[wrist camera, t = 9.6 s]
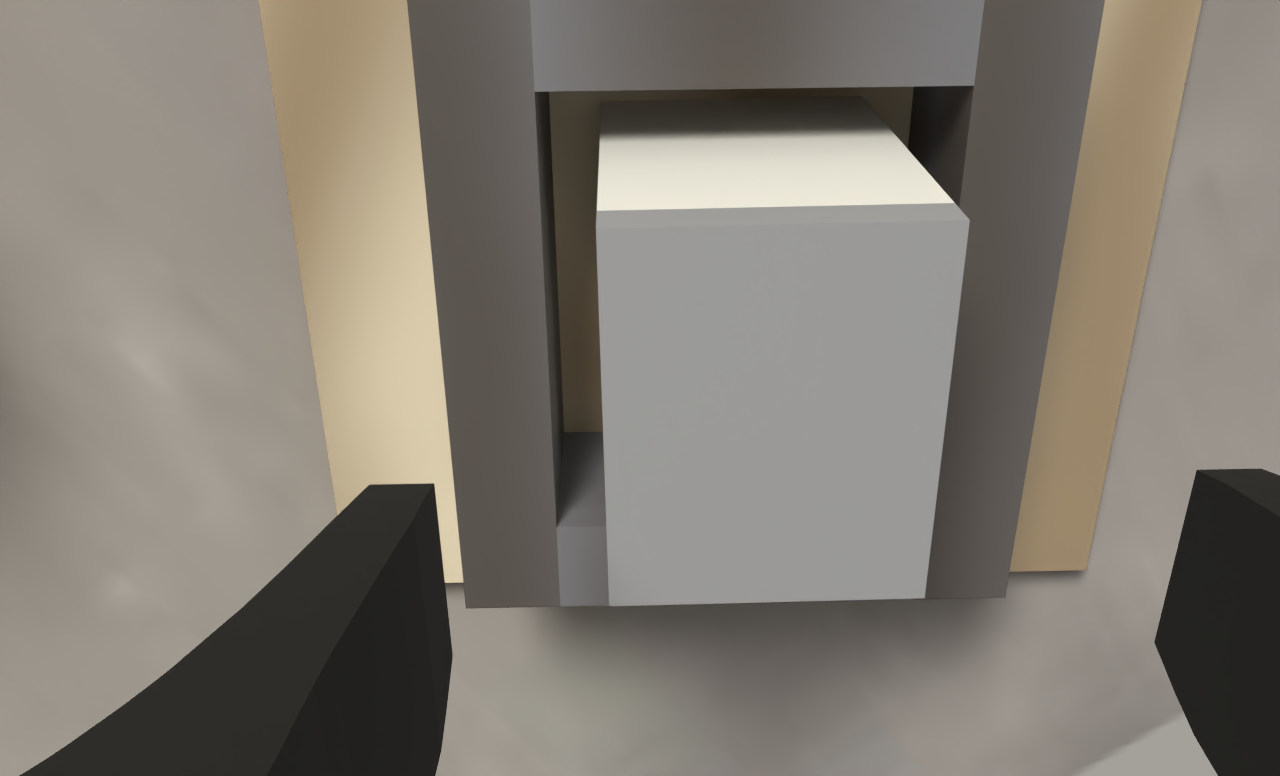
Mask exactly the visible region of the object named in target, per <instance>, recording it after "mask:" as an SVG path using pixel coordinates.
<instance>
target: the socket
mask: <svg viewBox="0 0 1280 776" xmlns="http://www.w3.org/2000/svg"><path fill="white" fill-rule="evenodd" d="M1201 3H1202V0H259V7H260V13H261V20H262V26H263V33H264V39H265V46H266V52H267V59H268V65H269V72H270V78H271V85H272V92H273V98H274V105H275V111H276V118H277V124H278V131H279V137H280V144H281V150H282V157H283V163H284V170H285V176H286V183H287V189H288V196H289V203H290V209H291V216H292V222H293V229H294V235H295V242H296V248H297V255H298V261H299V268H300V274H301V281H302V287H303V294H304V300H305V307H306V314H307V320H308V327H309V333H310V340H311V346H312V353H313V359H314V366H315V372H316V379H317V385H318V392H319V398H320V405H321V411H322V418H323V425H324V431H325V438H326V444H327V451H328V457H329V464H330V470H331V477H332V483H333V490H334V496H335V503H336V509H337V515H338V514H339V513H340V512H341V511H342V510H343V509H345V508H346V507H347V506H348V505H349V504H350V503H351V502H352V501H353V500H354V499H355V498H356V497H357V496H358V495H359V494H360V493H361V492H362V491H363V490H364V489H365V488H366V487H367V486H369V485H372V484H428V483H434V486H435V495H436V505H437V514H438V524H439V533H440V542H441V552H442V561H443V571H444V580H445V583H461V582H463V583H464V594H465V604H466V608H510V607H560V606H609V588H608V559H607V530H606V502H605V473H604V445H603V416H602V387H601V359H600V330H599V302H598V273H597V244H596V215H597V192H598V169H599V147H600V124H601V101H640V100H689V99H737V98H785V97H834V96H862V97H863V99H864V100H865V101H866V102H867V103H868V104H869V105H870V107H871V108H872V109H873V110H874V111H875V112H876V113H877V115H878V116H879V117H880V118H881V119H882V120H883V121H884V123H885V124H886V125H887V126H888V127H889V128H890V129H891V131H892V132H893V133H894V134H895V135H896V136H897V137H898V139H899V140H900V141H901V142H902V143H903V144H904V145H905V147H906V148H907V149H908V150H909V151H910V152H911V153H912V155H913V156H914V157H915V158H916V159H917V160H918V161H919V163H920V164H921V165H922V166H923V167H924V168H925V169H926V171H927V172H928V173H929V174H930V175H931V176H932V177H933V179H934V180H935V181H936V182H937V183H938V184H939V185H940V187H941V188H942V189H943V190H944V191H945V192H946V193H947V195H948V196H949V197H950V198H951V199H952V200H953V201H954V203H955V204H956V205H957V206H958V207H959V208H960V209H961V211H962V212H963V213H964V214H965V215H966V216H967V217H968V219H969V220H970V223H969V231H968V240H967V248H966V256H965V265H964V273H963V281H962V290H961V298H960V307H959V315H958V323H957V332H956V340H955V348H954V357H953V365H952V373H951V382H950V390H949V399H948V407H947V415H946V424H945V432H944V440H943V449H942V457H941V465H940V474H939V482H938V491H937V499H936V507H935V516H934V524H933V532H932V541H931V549H930V558H929V566H928V574H927V583H926V591H925V598H916V599H959V598H1005V596H1006V590H1007V584H1008V578H1009V572H1018V571H1069V570H1086V567H1087V562H1088V557H1089V553H1090V548H1091V543H1092V538H1093V533H1094V528H1095V523H1096V518H1097V513H1098V508H1099V504H1100V499H1101V494H1102V489H1103V484H1104V479H1105V474H1106V469H1107V464H1108V459H1109V454H1110V450H1111V445H1112V440H1113V435H1114V430H1115V425H1116V420H1117V415H1118V410H1119V405H1120V401H1121V396H1122V391H1123V386H1124V381H1125V376H1126V371H1127V366H1128V361H1129V356H1130V352H1131V347H1132V342H1133V337H1134V332H1135V327H1136V322H1137V317H1138V312H1139V307H1140V302H1141V298H1142V293H1143V288H1144V283H1145V278H1146V273H1147V268H1148V263H1149V258H1150V253H1151V249H1152V244H1153V239H1154V234H1155V229H1156V224H1157V219H1158V214H1159V209H1160V204H1161V200H1162V195H1163V190H1164V185H1165V180H1166V175H1167V170H1168V165H1169V160H1170V155H1171V150H1172V146H1173V141H1174V136H1175V131H1176V126H1177V121H1178V116H1179V111H1180V106H1181V101H1182V97H1183V92H1184V87H1185V82H1186V77H1187V72H1188V67H1189V62H1190V57H1191V52H1192V48H1193V43H1194V38H1195V33H1196V28H1197V23H1198V18H1199V13H1200V8H1201ZM877 600H909V599H877ZM838 601H859V600H838ZM799 602H809V601H799Z"/></svg>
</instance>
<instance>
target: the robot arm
mask: <svg viewBox="0 0 1280 776" xmlns="http://www.w3.org/2000/svg"><path fill="white" fill-rule="evenodd" d="M1155 645H1156V647H1157V649H1158V652H1159V654H1160V657H1161V659H1162V662H1163V664H1164V667H1165V669H1166V672H1167V674H1168V677H1169V679H1170V681H1171V684H1172V686H1173V689H1174V691H1175V694H1176V696H1177V698H1178V700H1179V703H1180V705H1181V707H1182V709H1183V711H1184V714H1185V716H1186V718H1187V720H1188V722H1189V725H1190V727H1191V729H1192V731H1193V733H1194V736H1195V737H1196V739H1197V741H1198V742H1199V744H1200V746H1201V747H1202V749H1203V751H1204V753H1205V754H1206V756H1207V758H1208V760H1209V761H1210V763H1211V765H1212V766H1213V768H1214V769H1215V771H1216V773H1217V774H1218V776H1280V476H1279V475H1276V474H1274V473H1271V472H1268V471H1266V470H1263V469H1220V470H1197V471H1196V475H1195V479H1194V483H1193V488H1192V492H1191V496H1190V500H1189V504H1188V508H1187V512H1186V516H1185V520H1184V524H1183V528H1182V532H1181V536H1180V540H1179V544H1178V549H1177V553H1176V557H1175V561H1174V565H1173V569H1172V573H1171V577H1170V581H1169V585H1168V589H1167V593H1166V597H1165V601H1164V606H1163V610H1162V614H1161V618H1160V622H1159V626H1158V630H1157V634H1156V638H1155ZM451 665H452V646H451V637H450V627H449V618H448V608H447V599H446V590H445V580H444V571H443V561H442V552H441V542H440V533H439V524H438V514H437V505H436V495H435V486H434V483H428V484H372V485H369V486H367V487H366V488H365V489H364V490H363V491H362V492H361V493H360V494H359V495H358V496H357V497H356V498H355V499H354V500H353V501H352V502H351V503H350V504H349V505H348V506H347V507H346V508H345V509H343V510H342V511H341V512H340V513H339V514H338V515H337V516H336V517H335V518H334V519H333V520H332V521H331V522H330V523H329V524H328V525H327V526H326V527H325V528H324V529H323V530H322V531H321V532H320V533H319V534H318V535H317V536H316V537H315V538H314V539H313V540H312V541H311V542H310V543H309V544H308V545H307V546H306V547H305V548H304V549H303V550H302V551H301V552H300V553H299V554H298V555H297V556H296V557H295V558H294V559H293V560H292V561H291V562H290V563H289V564H288V565H287V566H286V567H285V568H284V569H283V570H282V571H281V572H280V573H279V574H278V575H276V576H275V577H274V578H273V579H272V580H271V581H270V582H269V583H268V584H267V585H266V586H265V587H264V588H263V589H262V590H261V591H260V592H258V593H257V594H256V595H255V596H254V597H253V598H252V599H251V600H250V601H249V602H248V603H247V604H246V605H245V606H244V607H243V608H241V609H240V610H239V611H238V612H237V613H236V614H234V615H233V616H232V617H231V618H230V619H229V620H227V621H226V622H225V623H224V624H223V625H222V626H220V627H219V628H218V629H217V630H216V631H215V632H213V633H212V634H211V635H210V636H209V637H207V638H206V639H205V640H204V641H203V642H202V643H200V644H199V645H198V646H197V647H196V648H195V649H193V650H192V651H191V652H190V653H189V654H188V655H186V656H185V657H184V658H183V659H182V660H181V661H179V662H178V663H177V664H176V665H175V666H174V667H172V668H171V669H170V670H169V671H167V672H166V673H165V674H164V675H162V676H161V677H160V678H159V679H157V680H156V681H155V682H153V683H152V684H151V685H150V686H148V687H147V688H146V689H144V690H143V691H142V692H140V693H139V694H138V695H136V696H135V697H134V698H132V699H131V700H130V701H128V702H127V703H126V704H125V705H123V706H122V707H121V708H119V709H118V710H116V711H115V712H113V713H112V714H111V715H109V716H108V717H106V718H105V719H104V720H102V721H101V722H99V723H98V724H96V725H95V726H94V727H92V728H91V729H89V730H88V731H87V732H85V733H84V734H82V735H81V736H79V737H78V738H77V739H75V740H74V741H72V742H71V743H70V744H68V745H67V746H65V747H64V748H62V749H61V750H59V751H58V752H56V753H55V754H53V755H52V756H50V757H49V758H47V759H46V760H44V761H43V762H41V763H39V764H38V765H36V766H34V767H33V768H31V769H30V770H28V771H26V772H25V773H23V774H21V775H20V776H435V774H436V770H437V766H438V761H439V757H440V753H441V747H442V740H443V732H444V724H445V716H446V709H447V700H448V691H449V683H450V674H451Z"/></svg>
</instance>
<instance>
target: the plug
mask: <svg viewBox="0 0 1280 776" xmlns="http://www.w3.org/2000/svg"><path fill="white" fill-rule="evenodd" d="M969 223H970V220H969V219H968V217H967V216H966V215H965V214H964V213H963V212H962V211H961V209H960V208H959V207H958V206H957V205H956V204H955V203H954V201H953V200H952V199H951V198H950V197H949V196H948V195H947V193H946V192H945V191H944V190H943V189H942V188H941V187H940V185H939V184H938V183H937V182H936V181H935V180H934V179H933V177H932V176H931V175H930V174H929V173H928V172H927V171H926V169H925V168H924V167H923V166H922V165H921V164H920V163H919V161H918V160H917V159H916V158H915V157H914V156H913V155H912V153H911V152H910V151H909V150H908V149H907V148H906V147H905V145H904V144H903V143H902V142H901V141H900V140H899V139H898V137H897V136H896V135H895V134H894V133H893V132H892V131H891V129H890V128H889V127H888V126H887V125H886V124H885V123H884V121H883V120H882V119H881V118H880V117H879V116H878V115H877V113H876V112H875V111H874V110H873V109H872V108H871V107H870V105H869V104H868V103H867V102H866V101H865V100H864V99H863V97H862V96H834V97H785V98H737V99H689V100H640V101H601V124H600V147H599V169H598V192H597V215H596V244H597V273H598V302H599V330H600V359H601V387H602V416H603V445H604V473H605V502H606V530H607V559H608V588H609V606H642V605H682V604H721V603H760V602H799V601H838V600H877V599H916V598H925V591H926V583H927V574H928V566H929V558H930V549H931V541H932V532H933V524H934V516H935V507H936V499H937V491H938V482H939V474H940V465H941V457H942V449H943V440H944V432H945V424H946V415H947V407H948V399H949V390H950V382H951V373H952V365H953V357H954V348H955V340H956V332H957V323H958V315H959V307H960V298H961V290H962V281H963V273H964V265H965V256H966V248H967V240H968V231H969Z"/></svg>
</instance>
